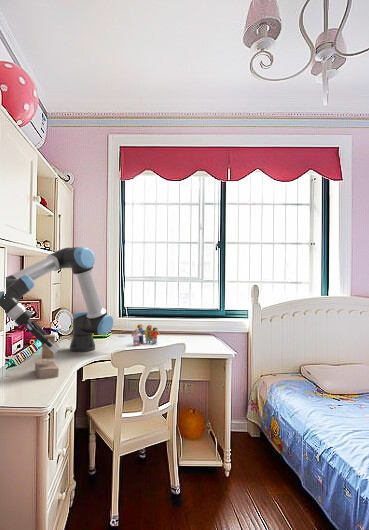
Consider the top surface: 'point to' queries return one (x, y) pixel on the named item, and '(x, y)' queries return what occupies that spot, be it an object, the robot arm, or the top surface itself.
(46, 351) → the walnut block
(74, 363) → the top surface
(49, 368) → the brick
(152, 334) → the doll family
